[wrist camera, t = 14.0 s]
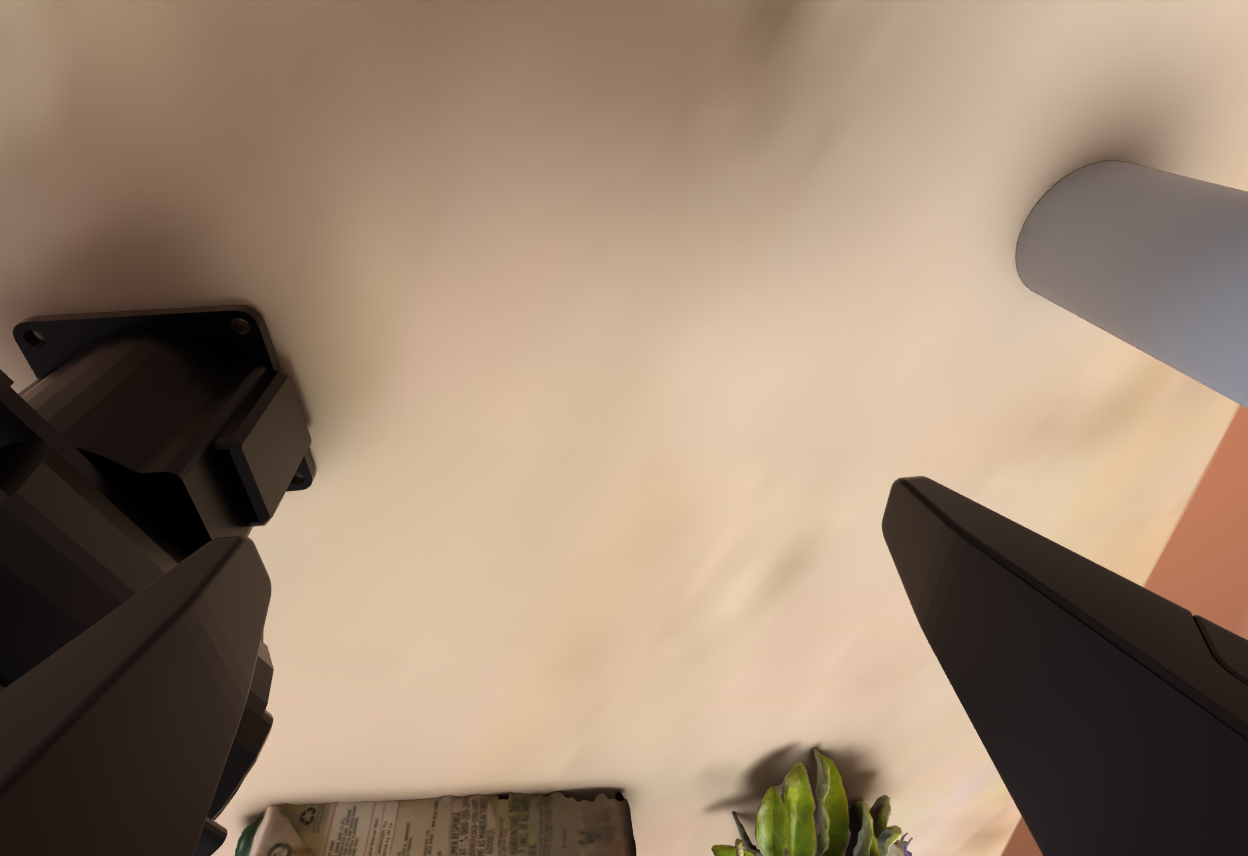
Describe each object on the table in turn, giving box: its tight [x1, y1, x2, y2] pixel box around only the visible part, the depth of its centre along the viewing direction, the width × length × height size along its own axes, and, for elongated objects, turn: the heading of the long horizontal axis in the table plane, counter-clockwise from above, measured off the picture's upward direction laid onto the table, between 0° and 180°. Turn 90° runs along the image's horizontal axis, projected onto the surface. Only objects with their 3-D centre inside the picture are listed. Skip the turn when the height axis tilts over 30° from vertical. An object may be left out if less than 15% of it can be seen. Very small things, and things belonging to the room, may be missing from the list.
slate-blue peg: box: [1016, 160, 1248, 408], centre depth 16 cm, size 4×4×10 cm
